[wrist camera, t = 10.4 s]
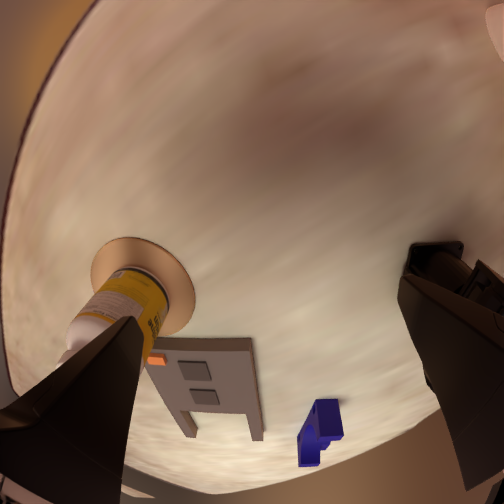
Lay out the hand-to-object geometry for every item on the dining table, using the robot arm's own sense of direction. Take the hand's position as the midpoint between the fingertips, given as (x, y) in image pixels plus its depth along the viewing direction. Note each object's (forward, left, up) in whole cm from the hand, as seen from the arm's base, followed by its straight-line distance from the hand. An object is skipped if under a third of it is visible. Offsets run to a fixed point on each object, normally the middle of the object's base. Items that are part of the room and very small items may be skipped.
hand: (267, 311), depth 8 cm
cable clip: (-6, +32, -14) cm, 35 cm away
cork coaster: (+13, +8, -13) cm, 20 cm away
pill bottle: (+12, +8, -13) cm, 19 cm away
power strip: (+8, +24, -13) cm, 29 cm away
